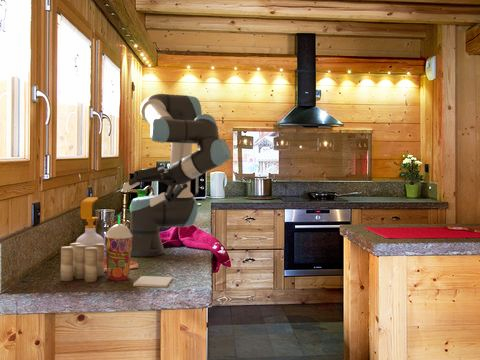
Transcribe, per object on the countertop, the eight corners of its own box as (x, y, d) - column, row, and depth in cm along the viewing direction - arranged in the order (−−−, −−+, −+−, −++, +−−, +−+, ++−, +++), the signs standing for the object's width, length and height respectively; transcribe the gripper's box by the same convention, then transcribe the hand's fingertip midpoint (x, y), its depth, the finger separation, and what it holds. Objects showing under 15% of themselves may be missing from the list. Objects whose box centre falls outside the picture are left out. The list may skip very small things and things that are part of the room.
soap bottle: (108, 268, 163) (109, 197, 162) (93, 273, 154) (95, 198, 154) (86, 265, 165) (87, 196, 165) (70, 271, 157) (71, 197, 156)
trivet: (141, 277, 150) (141, 276, 150) (172, 279, 150) (172, 277, 150) (133, 285, 140) (133, 283, 140) (166, 287, 140) (166, 285, 140)
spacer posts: (72, 273, 154) (72, 242, 154) (105, 274, 154) (106, 243, 154) (58, 280, 144) (59, 248, 143) (94, 282, 143) (94, 249, 143)
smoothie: (104, 282, 143) (105, 217, 143) (104, 276, 151) (105, 214, 151) (132, 281, 146) (133, 216, 145) (130, 275, 154) (132, 214, 153)
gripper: (164, 162, 142) (111, 191, 149) (210, 193, 161) (161, 217, 169) (161, 143, 146) (111, 172, 154) (206, 175, 165) (159, 200, 173)
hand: (137, 196), depth 161 cm, fingers open, 13 cm apart
